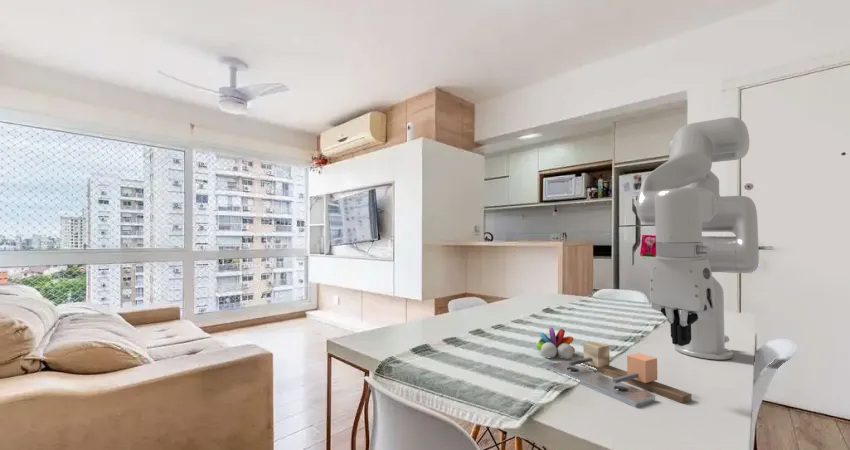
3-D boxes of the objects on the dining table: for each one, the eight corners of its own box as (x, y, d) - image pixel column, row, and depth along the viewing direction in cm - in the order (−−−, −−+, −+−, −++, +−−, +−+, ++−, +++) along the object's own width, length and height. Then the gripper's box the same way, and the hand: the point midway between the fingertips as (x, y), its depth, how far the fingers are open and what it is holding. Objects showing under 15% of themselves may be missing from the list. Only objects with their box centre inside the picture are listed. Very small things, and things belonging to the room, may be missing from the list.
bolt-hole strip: (565, 365, 91) (565, 360, 91) (655, 400, 71) (655, 395, 71) (547, 369, 88) (546, 364, 88) (635, 407, 68) (635, 401, 69)
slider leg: (639, 373, 81) (638, 352, 81) (657, 379, 78) (657, 358, 78) (605, 382, 76) (605, 360, 76) (623, 389, 73) (623, 366, 73)
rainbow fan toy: (578, 361, 94) (577, 333, 94) (538, 359, 96) (538, 331, 96) (571, 351, 102) (571, 325, 102) (534, 349, 104) (534, 323, 104)
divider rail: (588, 362, 93) (587, 339, 93) (692, 399, 72) (692, 370, 72) (556, 369, 88) (556, 345, 88) (658, 411, 67) (658, 380, 67)
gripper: (733, 252, 68) (736, 351, 68) (652, 248, 81) (654, 331, 81) (711, 255, 64) (714, 359, 65) (630, 250, 78) (633, 337, 78)
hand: (681, 343), depth 73 cm, fingers closed
